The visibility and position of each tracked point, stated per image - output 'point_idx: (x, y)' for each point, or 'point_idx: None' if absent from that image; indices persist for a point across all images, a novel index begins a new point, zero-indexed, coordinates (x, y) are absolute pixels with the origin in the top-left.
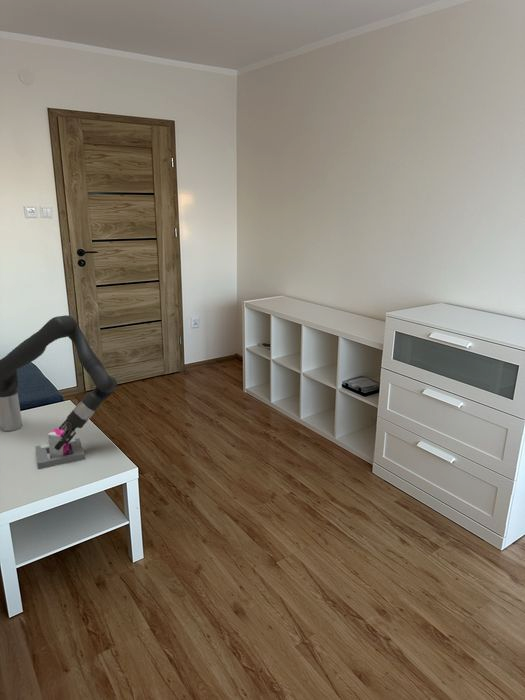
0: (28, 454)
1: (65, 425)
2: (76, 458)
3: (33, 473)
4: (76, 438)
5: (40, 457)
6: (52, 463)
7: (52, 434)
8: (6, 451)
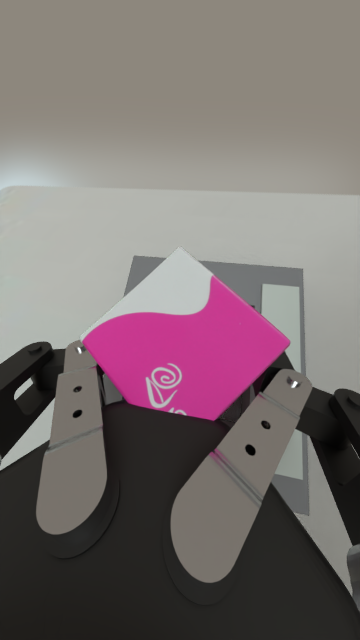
0: (277, 255)
1: (177, 494)
2: None
3: (123, 252)
4: (308, 492)
5: None
6: None
7: (148, 281)
8: (343, 197)
